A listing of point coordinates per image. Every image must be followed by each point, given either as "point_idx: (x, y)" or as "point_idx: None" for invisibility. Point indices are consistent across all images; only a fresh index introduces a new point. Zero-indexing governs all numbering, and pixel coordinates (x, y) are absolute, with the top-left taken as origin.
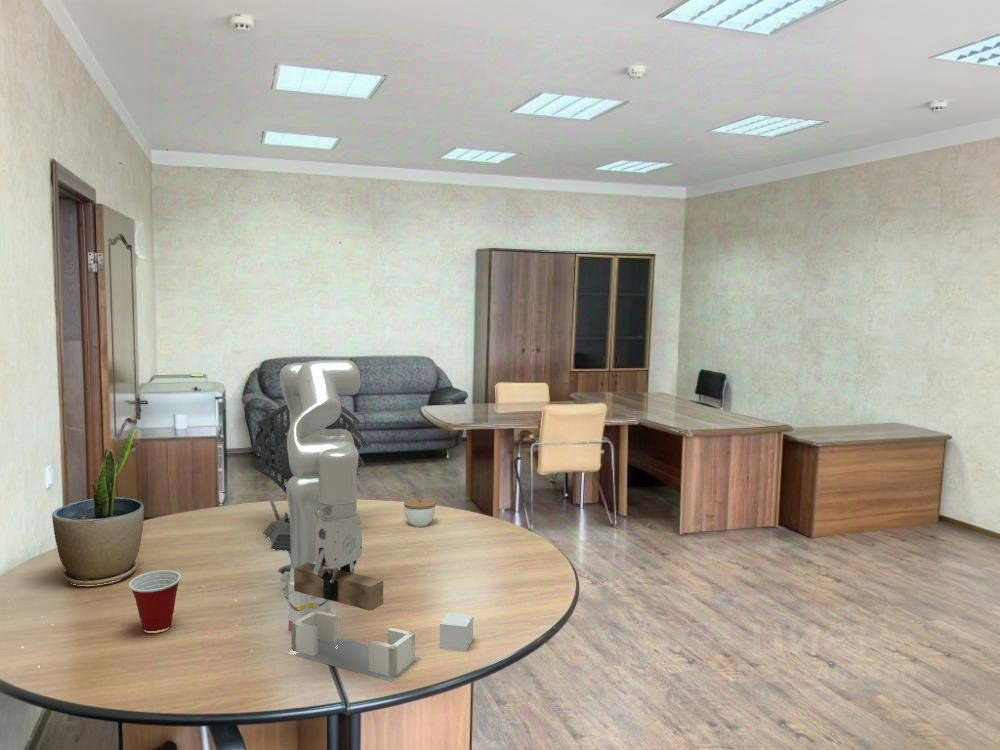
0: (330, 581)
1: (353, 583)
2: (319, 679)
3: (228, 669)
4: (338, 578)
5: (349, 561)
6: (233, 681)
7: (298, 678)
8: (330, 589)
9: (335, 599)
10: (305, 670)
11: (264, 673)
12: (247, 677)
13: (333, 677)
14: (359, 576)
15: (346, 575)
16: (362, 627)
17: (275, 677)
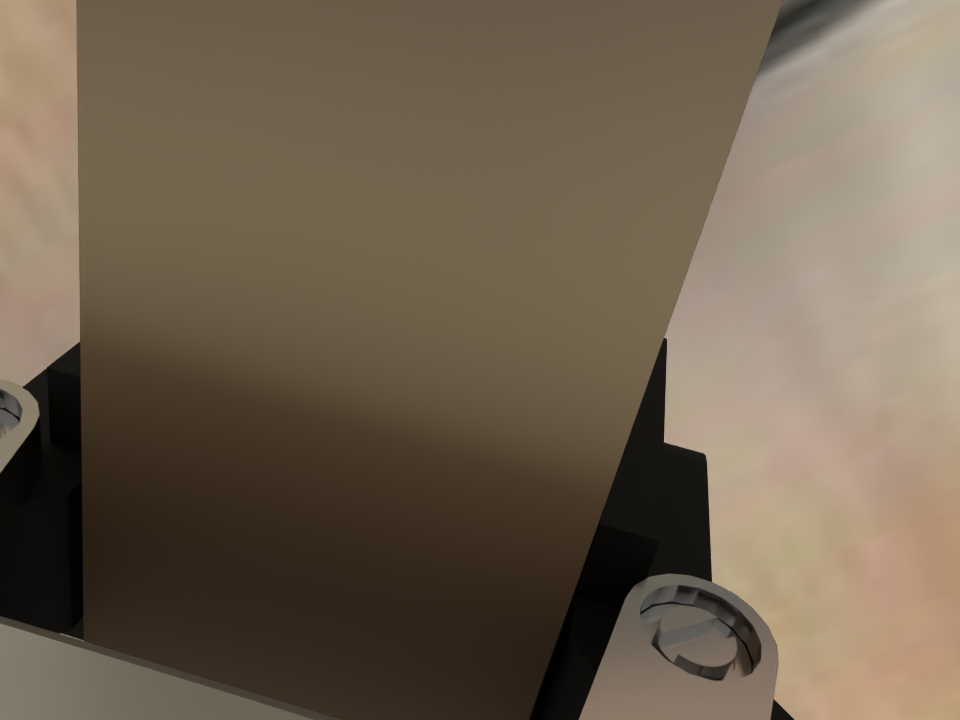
0: (754, 667)
1: (772, 19)
2: (838, 145)
3: (785, 698)
4: (574, 560)
5: (53, 707)
6: (929, 633)
7: (842, 297)
8: (708, 535)
9: (666, 351)
10: (717, 299)
11: (803, 517)
12: (869, 584)
13: (790, 50)
14: (209, 58)
15: (301, 444)
16: (6, 180)
17: (848, 440)
